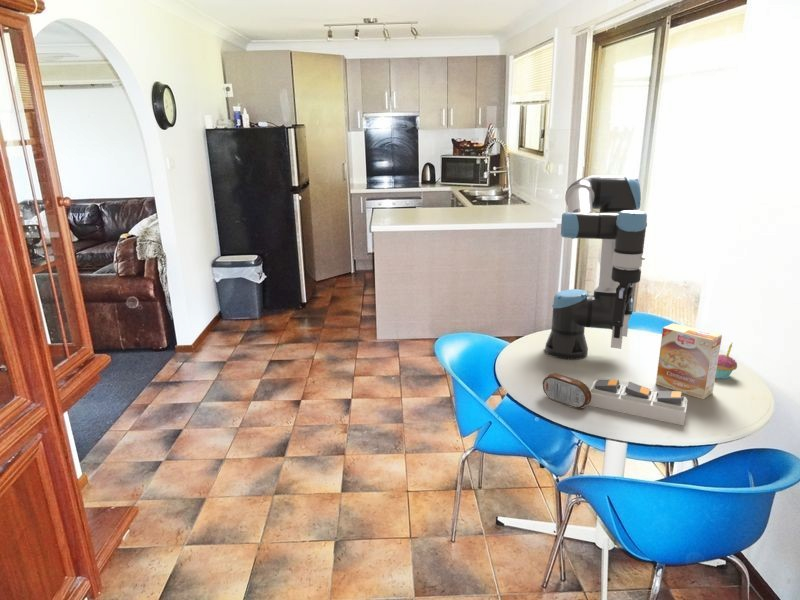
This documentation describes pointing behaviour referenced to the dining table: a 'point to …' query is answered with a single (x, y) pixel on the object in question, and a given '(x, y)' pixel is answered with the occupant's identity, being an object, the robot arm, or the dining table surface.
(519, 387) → the dining table surface
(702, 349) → the coffeecake box
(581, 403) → the tin
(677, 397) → the rocker right
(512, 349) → the dining table surface
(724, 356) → the cupcake
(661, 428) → the dining table surface
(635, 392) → the rocker middle
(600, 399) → the rocker switch box
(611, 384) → the rocker left
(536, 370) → the dining table surface
